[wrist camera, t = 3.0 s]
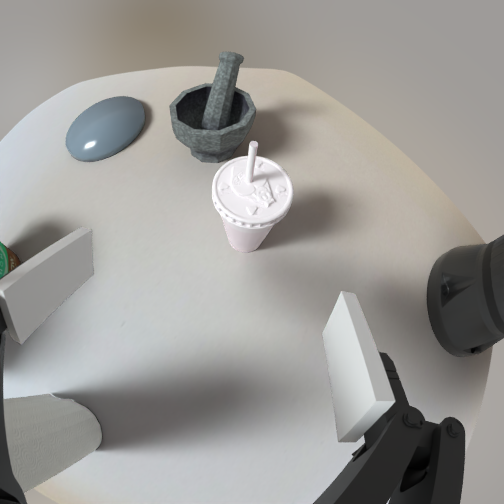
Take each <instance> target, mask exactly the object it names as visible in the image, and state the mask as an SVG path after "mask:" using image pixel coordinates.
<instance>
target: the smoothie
mask: <svg viewBox="0 0 504 504" xmlns="http://www.w3.org/2000/svg"><path fill="white" fill-rule="evenodd" d="M257 148H258V143H257V142H256V141H251V142H250V144H249V152H248V156H242V157H238V158H235V159H232V160H230V161H228V162H227V163H225V164H224V165H223V166H222V167H221V168H220V169H219V170H218V171H217V173H216V175H215V177H214V180H213V184H212V199H213V202H214V205H215V208H216V209H217V210H218V212H219V213H220V215H221V216H222V220H223V223H224V226H225V230H226V233H227V236H228V240H229V243H230V244H231V246H232V247H233V248H234V249H236V250H237V251H240V252H251V251H254V250H256V249H257V248H258V247H259V246H260V244H261V243H262V241H263V240H264V239H265V237H266V236H267V234H268V233H269V232H270V230H271V229H272V227H273V226H274V224H276V223H277V222H279V221H281V220H282V219H283V217H284V216H285V215H286V214H287V213H288V211H289V209H290V207H291V203H292V199H293V194H294V190H293V184H292V181H291V179H290V177H289V175H288V174H287V172H286V171H285V170H284V169H283V168H282V167H281V166H280V165H278V164H277V163H275V162H274V161H272V160H269V159H267V158H264V157H259V156H256V155H257Z"/></svg>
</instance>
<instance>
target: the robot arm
mask: <svg viewBox="0 0 504 504" xmlns="http://www.w3.org/2000/svg"><path fill="white" fill-rule="evenodd" d="M93 275H94V268H93V249H92V229H88V228H84V227H80V228H79V229H77V230H75V231H74V232H72V233H70V234H68V235H67V236H65V237H63V238H62V239H60V240H59V241H57V242H55V243H54V244H52V245H50V246H49V247H47V248H46V249H44V250H43V251H41V252H40V253H38V254H37V255H35V256H33V257H32V258H30V259H29V260H28V261H26V262H23V263H21V264H19V265H18V266H16V267H15V268H14V270H13V269H12V270H11V271H9V272H8V273H7V274H5V275H4V276H2V277H1V278H0V504H27V502H26V499H25V496H24V493H23V490H22V488H21V486H20V485H19V483H18V482H17V480H16V479H15V477H14V475H13V471H12V467H11V462H10V457H9V451H8V445H7V437H6V429H5V419H4V404H3V362H4V346H5V334H4V332H3V331H4V330H5V329H6V328H7V329H8V331H9V334H10V336H11V338H12V339H13V340H15V341H16V342H18V343H19V344H21V345H22V344H23V343H24V342H25V341H26V339H27V338H28V337H29V336H30V335H31V334H32V333H33V332H34V331H35V330H36V329H37V328H38V327H39V326H40V325H41V324H42V323H43V322H44V321H45V320H46V319H47V318H48V317H49V316H50V315H51V314H52V313H53V312H54V311H55V310H56V309H57V308H58V307H59V306H60V305H61V304H62V303H63V302H64V301H65V300H66V299H67V298H68V297H69V296H71V295H72V294H73V293H74V292H75V291H76V290H77V289H78V288H79V287H80V286H81V285H82V284H84V283H85V282H86V281H87V280H88V279H89V278H90V277H91V276H93ZM427 306H428V313H429V318H430V322H431V326H432V329H433V331H434V334H435V336H436V338H437V339H438V341H439V343H440V344H441V345H442V347H443V348H444V349H445V350H446V351H448V352H449V353H450V354H452V355H455V356H459V357H463V356H472V355H476V354H479V353H481V352H483V351H484V350H486V349H487V348H489V347H491V346H492V345H494V344H495V343H497V342H498V341H500V340H501V339H503V338H504V235H502V236H501V237H499V238H497V239H496V240H494V241H493V242H490V243H489V244H481V245H470V246H460V247H456V248H454V249H452V250H450V251H448V252H447V253H445V254H443V255H442V256H440V257H439V258H438V260H437V261H436V262H435V264H434V266H433V268H432V270H431V273H430V276H429V281H428V288H427ZM322 335H323V341H324V347H325V352H326V358H327V365H328V371H329V377H330V384H331V391H332V398H333V405H334V413H335V420H336V428H337V437H338V442H357V441H358V440H359V439H360V438H361V437H362V436H363V435H364V438H365V443H364V444H363V445H362V446H361V447H360V448H359V449H358V450H356V451H355V452H354V453H353V454H352V455H353V456H354V457H353V458H352V459H351V461H350V462H349V463H348V464H347V466H346V467H345V468H344V469H343V471H342V472H341V473H340V474H339V475H338V477H337V478H336V479H335V480H334V481H333V482H332V484H331V485H330V486H329V487H328V488H327V489H326V490H325V491H324V492H323V494H322V495H321V496H320V497H319V498H318V499H317V500H316V501H315V502H314V503H313V504H386V503H387V502H388V500H389V498H390V500H389V503H388V504H460V500H461V492H462V485H463V474H464V461H465V430H464V427H463V425H462V423H461V422H460V421H459V420H457V419H456V418H454V417H447V418H445V419H444V420H443V421H442V422H441V423H440V424H436V423H432V422H428V421H425V418H424V416H423V415H422V413H421V412H420V411H419V410H418V409H416V408H414V407H412V406H409V403H408V401H407V398H406V395H405V392H404V389H403V387H402V384H401V381H400V380H399V376H398V373H396V368H395V366H394V363H393V361H392V360H391V359H390V357H389V356H388V355H387V354H386V353H381V352H378V349H377V347H376V344H375V341H374V339H373V336H372V334H371V331H370V329H369V326H368V324H367V321H366V319H365V316H364V314H363V311H362V309H361V306H360V304H359V302H358V299H357V297H356V295H355V294H354V293H349V292H345V291H341V293H340V295H339V298H338V300H337V302H336V304H335V307H334V309H333V311H332V313H331V316H330V318H329V320H328V322H327V324H326V326H325V329H324V331H323V333H322Z"/></svg>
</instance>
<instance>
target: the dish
mask: <svg viewBox="0 0 504 504" xmlns="http://www.w3.org/2000/svg"><path fill="white" fill-rule="evenodd" d="M144 123H145V113H144V109H143V106H142V104H141V103H140V102H139V101H138V100H136V99H134V98H132V97H126V96H119V97H113V98H109V99H105V100H103V101H100V102H98V103H96V104H94V105H92V106H91V107H89V108H88V109H86V110H85V111H84V112H83V113H81V114H80V115H79V116H78V117H77V118H76V120H75V121H74V122H73V123H72V125H71V126H70V128H69V130H68V132H67V136H66V147H67V149H68V151H69V152H70V154H71V155H72V156H73V157H74V158H75V159H77V160H79V161H83V162H93V161H99V160H102V159H105V158H108V157H110V156H112V155H114V154H116V153H118V152H119V151H121V150H122V149H124V148H125V147H127V146H128V145H129V144H130V143H131V142H132V141H133V140H134V139H135V138H136V137H137V136H138V135H139V133H140V132H141V130H142V128H143V126H144Z"/></svg>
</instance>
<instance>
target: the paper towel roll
mask: <svg viewBox="0 0 504 504" xmlns="http://www.w3.org/2000/svg"><path fill="white" fill-rule="evenodd" d="M3 404H4V419H5V429H6V437H7V445H8V451H9V457H10V462H11V467H12V471H13V475H14V477H15V479H16V480H17V482H18V483H19V485H20V486H21V488H22V490H23V493H25V492H27V491H28V490H30V489H32V488H34V487H36V486H38V485H39V484H41V483H43V482H45V481H46V480H48V479H50V478H51V477H53V476H55V475H57V474H58V473H60V472H62V471H63V470H65V469H66V468H68V467H70V466H71V465H73V464H74V463H76V462H78V461H79V460H81V459H82V458H84V457H85V456H87V455H88V454H90V453H92V452H93V451H95V450H96V449H97V448H98V446H99V445H100V444H101V439H102V432H101V427H100V424H99V422H98V421H97V419H96V417H95V416H94V414H93V413H92V412H91V411H90V410H89V409H88V408H86V407H84V406H82V405H80V404H78V403H76V402H74V401H72V400H70V399H59V398H56V397H53V396H52V395H50V394H44V395H36V396H28V397H19V398H10V399H3Z"/></svg>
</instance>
